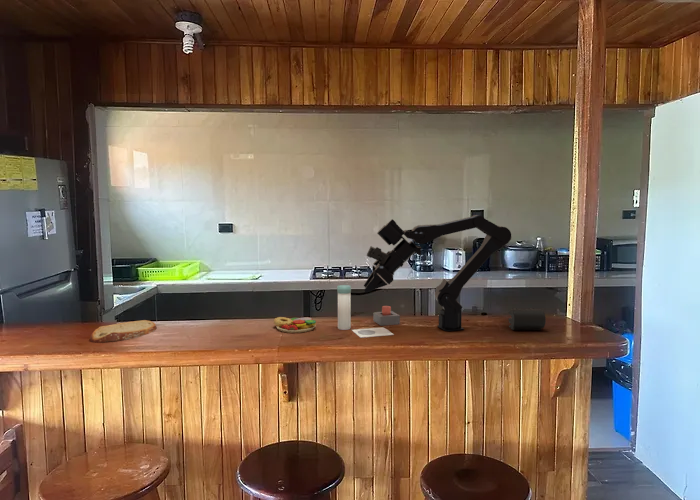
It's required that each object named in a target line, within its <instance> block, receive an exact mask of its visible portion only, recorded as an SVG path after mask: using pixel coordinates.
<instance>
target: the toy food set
mask: <svg viewBox="0 0 700 500" xmlns="http://www.w3.org/2000/svg"><path fill="white" fill-rule="evenodd" d="M273 324H274V326H276V328H277V330H278V331H280V332H283V333H289V334H290V333H291V334H301V333H307V332H310V331H312V330H314V329H315V328H316V326H317V325H316V324H317V322H316V320H314V319H313V318H312V317H310V316H309V317H308V316H306V317H300V318H299V317H292V318H289V317H286V316H285V317H284V316H278V317H275V318H274V319H273Z"/></svg>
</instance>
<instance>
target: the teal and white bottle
mask: <svg viewBox="0 0 700 500" xmlns="http://www.w3.org/2000/svg"><path fill="white" fill-rule="evenodd" d="M336 287H337V288H336V289H337V329H338V330H343V331H345V330H352V329H351V326H352V324H351V323H352V322H351V321H352V320H351V317H352V316H351V315H352V312H351V311H352V309H351V306H352V305H351V302H352V301H351V299H352V298H351V293H352V285H348V284H340V285H337V286H336Z"/></svg>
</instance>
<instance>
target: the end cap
mask: <svg viewBox="0 0 700 500" xmlns="http://www.w3.org/2000/svg"><path fill="white" fill-rule="evenodd" d="M508 314H509V316H510V317H509V318H508V323H509V324H508V327H509V328H510V329H511V330H512V331H518V330H519V331H541V330H543V329H544V328H545V326H546V324H547V323H546V319H547V318H546V313H545V311H544V310H543V309H539V308H538V309H536V308H530V307H529V308H526V309H520V308H514V307H513V308H509V310H508Z"/></svg>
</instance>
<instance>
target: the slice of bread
mask: <svg viewBox="0 0 700 500" xmlns="http://www.w3.org/2000/svg"><path fill="white" fill-rule="evenodd" d="M157 329H158V328H157V323H155V322H154V321H151V320H146V319H143V320H134V321H125V322H120V323H119V322H118V323H114V324H110V325H103V326H102V325H100V326H99V327H98V328H96V329H95V330H94V331H92V333H91V335H90V337H89V340H90V343H93V344H94V343H96V344H103V343H115V342H122V341H127V340H130V339H135V338H140V337H142V336H145V335H146V336H147V335H149V334H151V333H154V332H155V331H156V330H157Z"/></svg>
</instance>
